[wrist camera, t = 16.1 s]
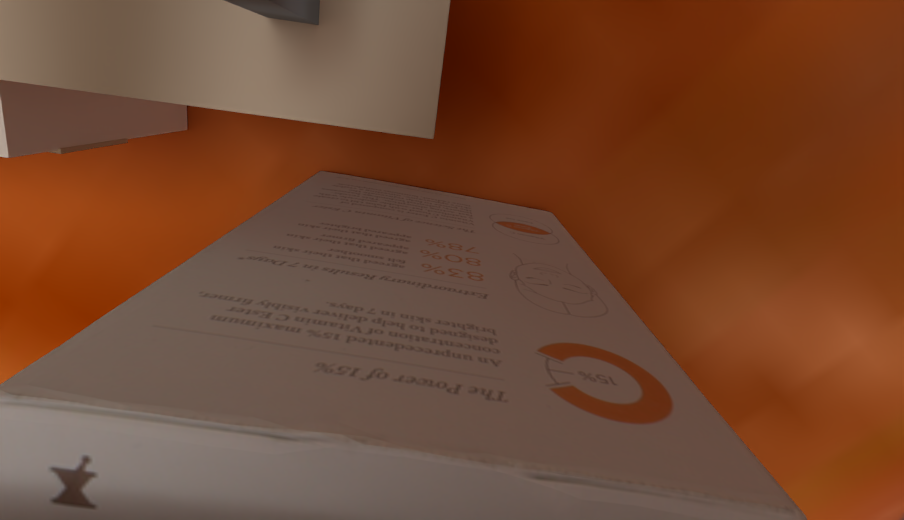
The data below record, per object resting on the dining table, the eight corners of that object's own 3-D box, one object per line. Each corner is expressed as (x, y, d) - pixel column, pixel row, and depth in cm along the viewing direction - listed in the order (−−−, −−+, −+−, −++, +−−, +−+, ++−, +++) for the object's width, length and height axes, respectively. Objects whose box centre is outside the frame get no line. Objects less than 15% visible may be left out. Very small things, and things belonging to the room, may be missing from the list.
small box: (299, 338, 19) (11, 824, 6) (317, 166, 17) (-50, 382, 4) (516, 373, 19) (640, 884, 7) (558, 210, 17) (835, 516, 5)
